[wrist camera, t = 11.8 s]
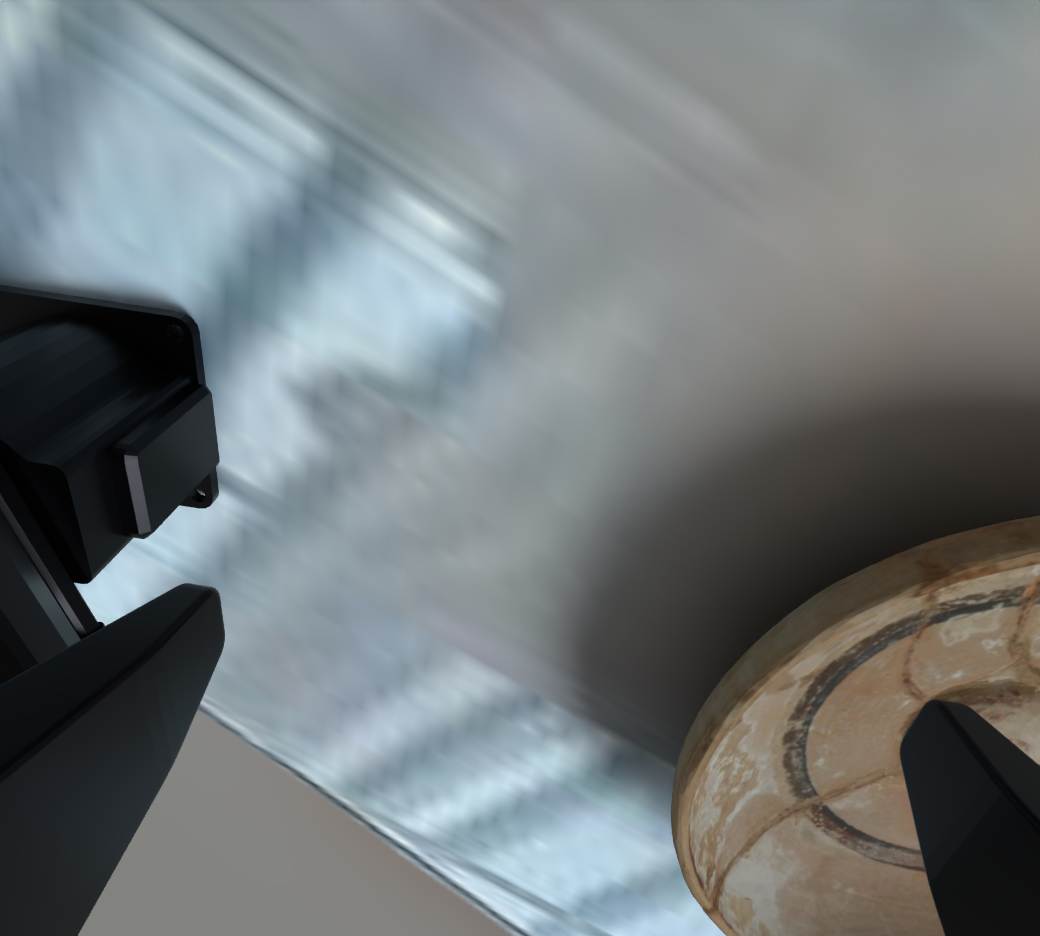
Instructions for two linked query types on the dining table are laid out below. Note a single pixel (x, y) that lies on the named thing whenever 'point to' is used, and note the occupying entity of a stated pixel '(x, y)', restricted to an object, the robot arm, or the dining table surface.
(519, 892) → the dining table surface
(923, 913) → the ceramic bowl
